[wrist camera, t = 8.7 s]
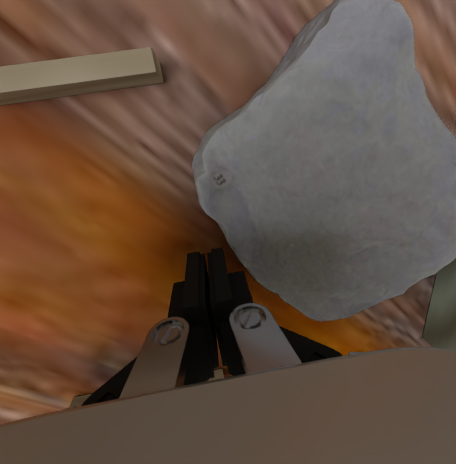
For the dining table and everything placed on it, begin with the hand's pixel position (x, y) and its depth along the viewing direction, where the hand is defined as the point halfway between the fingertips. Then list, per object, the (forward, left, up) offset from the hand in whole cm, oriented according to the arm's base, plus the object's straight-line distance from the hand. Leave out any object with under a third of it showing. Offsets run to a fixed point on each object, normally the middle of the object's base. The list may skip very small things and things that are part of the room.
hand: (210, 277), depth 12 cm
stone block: (+3, -6, -2) cm, 7 cm away
